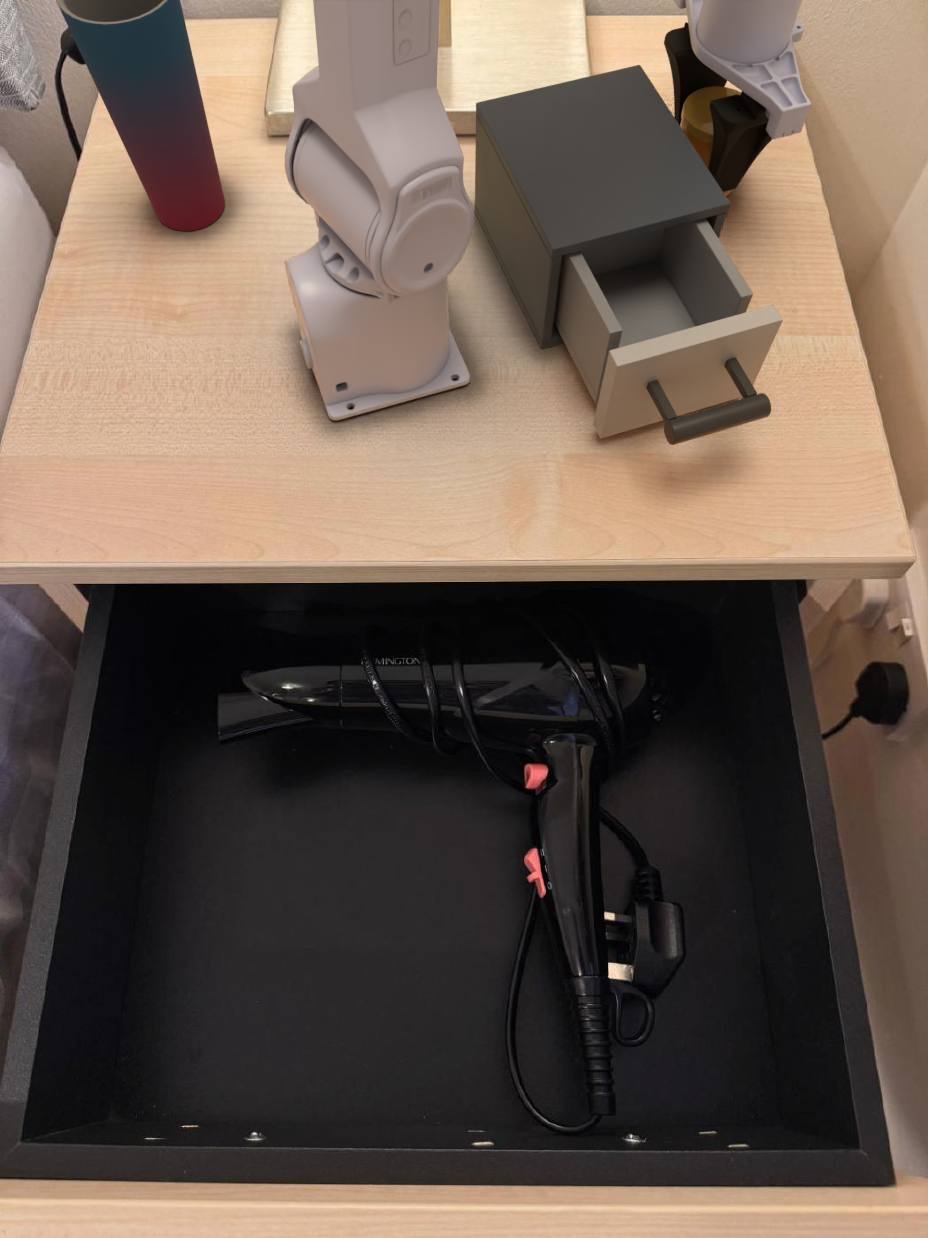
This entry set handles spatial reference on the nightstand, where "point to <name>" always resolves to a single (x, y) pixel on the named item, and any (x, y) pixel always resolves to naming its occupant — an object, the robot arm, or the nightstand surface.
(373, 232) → the robot arm
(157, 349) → the nightstand surface
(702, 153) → the jar
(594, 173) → the cabinet
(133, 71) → the cup
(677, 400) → the drawer
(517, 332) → the nightstand surface
